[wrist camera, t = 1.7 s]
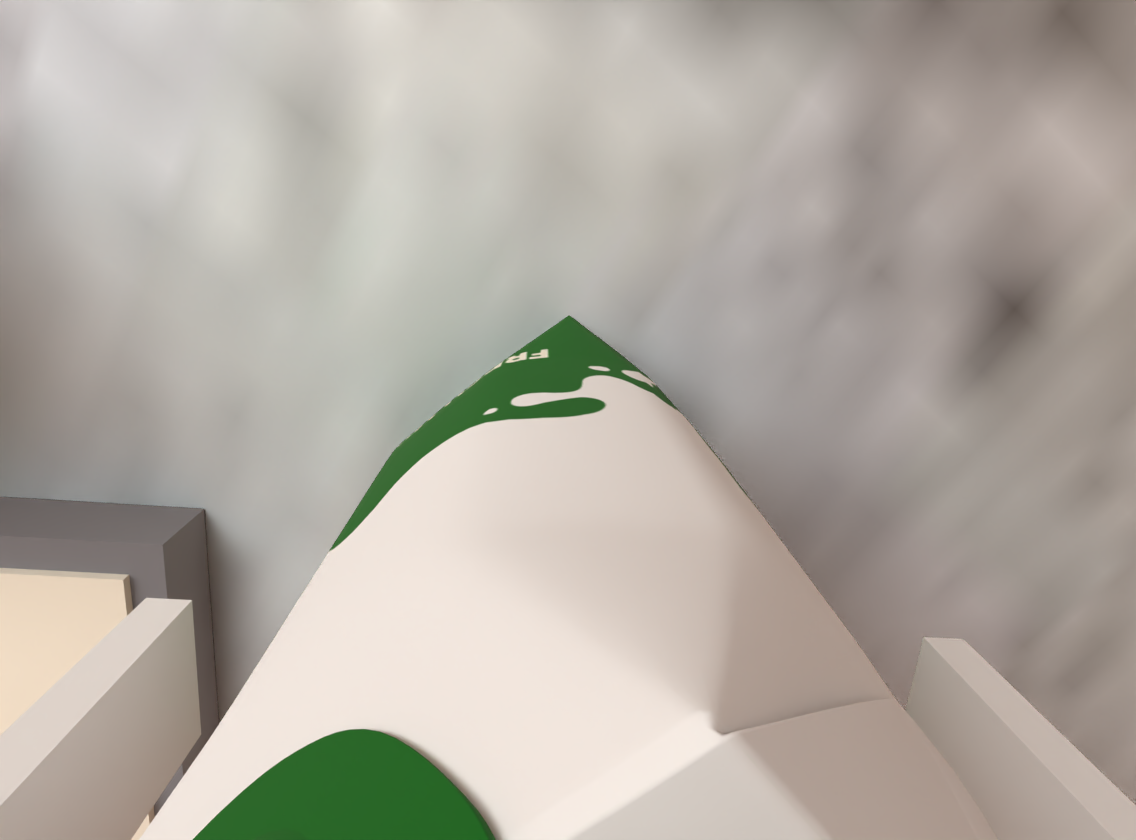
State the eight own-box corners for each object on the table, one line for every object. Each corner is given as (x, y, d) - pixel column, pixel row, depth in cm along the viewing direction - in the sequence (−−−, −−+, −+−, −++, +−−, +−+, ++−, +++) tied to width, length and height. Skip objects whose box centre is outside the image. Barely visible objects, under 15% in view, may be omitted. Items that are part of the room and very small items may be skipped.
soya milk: (573, 270, 20) (1203, 1264, 1) (748, 491, 22) (1991, 2124, 3) (354, 451, 21) (-1184, 2392, 2) (539, 643, 24) (538, 2452, 5)
